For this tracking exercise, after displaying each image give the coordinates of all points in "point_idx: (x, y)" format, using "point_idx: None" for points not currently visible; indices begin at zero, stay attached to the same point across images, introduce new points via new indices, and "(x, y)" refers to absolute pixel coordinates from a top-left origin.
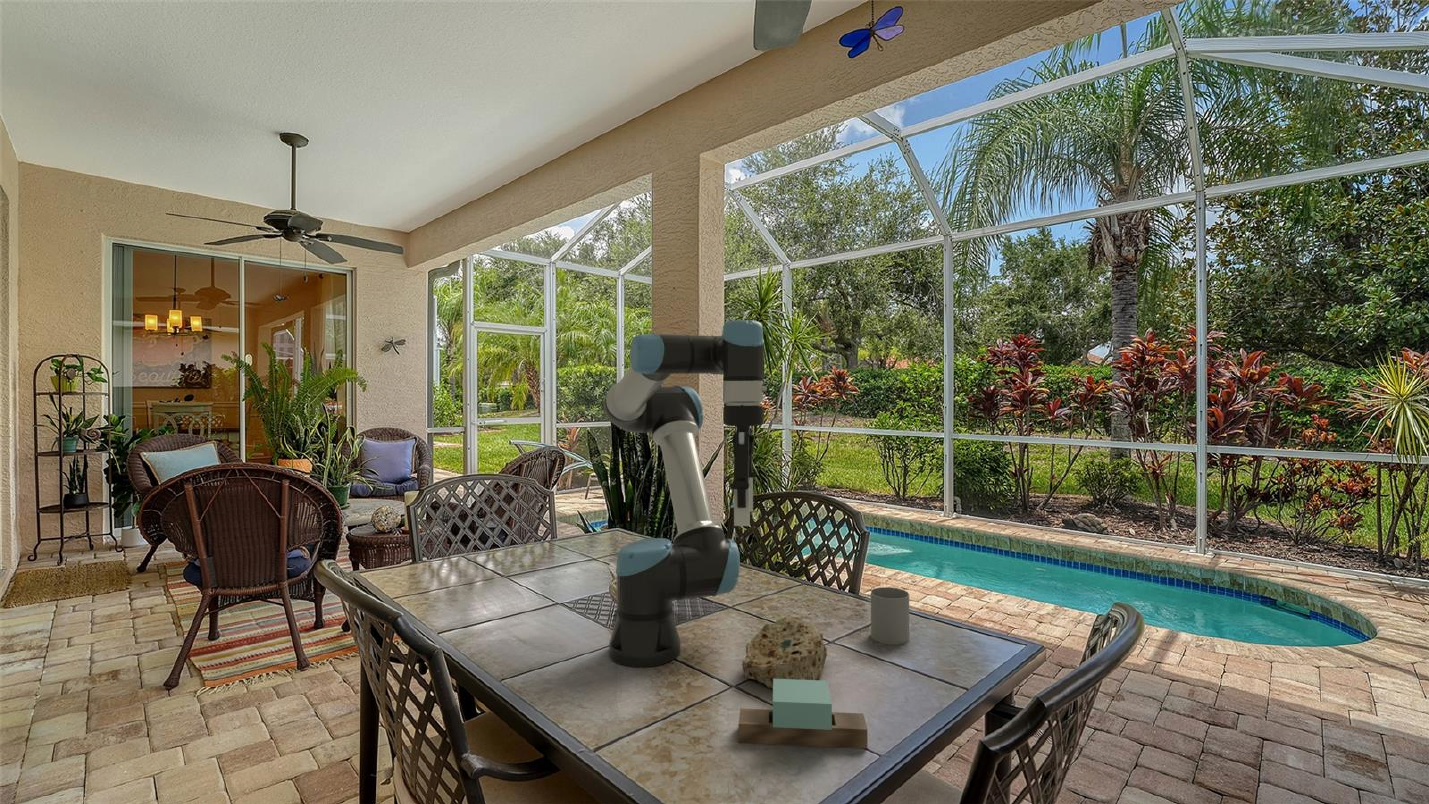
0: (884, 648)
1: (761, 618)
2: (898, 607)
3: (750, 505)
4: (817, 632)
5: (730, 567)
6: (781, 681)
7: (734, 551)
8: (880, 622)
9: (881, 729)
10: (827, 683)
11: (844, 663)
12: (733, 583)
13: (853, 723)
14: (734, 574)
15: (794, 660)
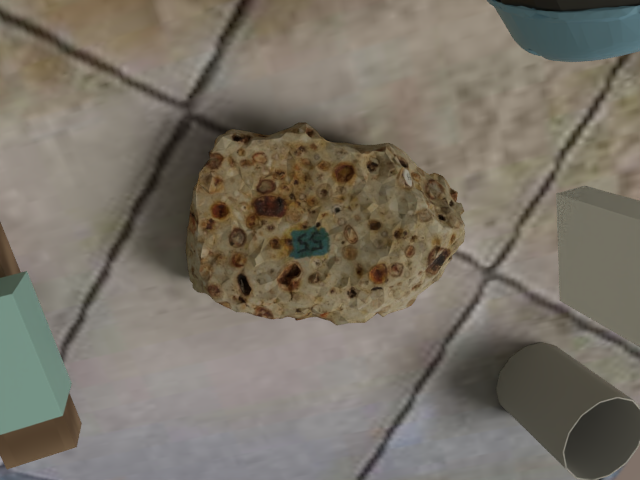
0: (474, 381)
1: (612, 72)
2: (550, 452)
3: (597, 303)
4: (363, 317)
5: (546, 29)
6: (3, 317)
7: (633, 33)
8: (530, 392)
9: (107, 448)
10: (46, 418)
11: (383, 324)
12: (516, 41)
13: (20, 441)
14: (532, 47)
15: (206, 290)
